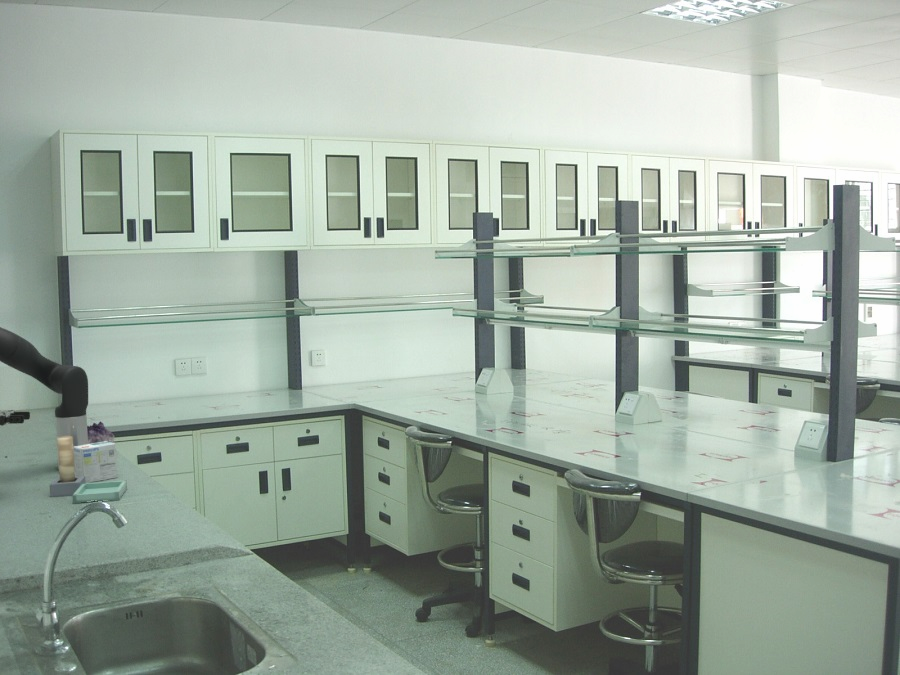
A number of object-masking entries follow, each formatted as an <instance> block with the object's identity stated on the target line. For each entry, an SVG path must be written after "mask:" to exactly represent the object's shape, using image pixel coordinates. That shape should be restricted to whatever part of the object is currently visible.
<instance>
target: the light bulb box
mask: <svg viewBox="0 0 900 675" xmlns="http://www.w3.org/2000/svg"><path fill="white" fill-rule="evenodd" d="M73 449H74V462H75V477H81V476H85V481H86V483H96V482H102V481H107V480H111V479H116V478H118V468H117V467H118V466H117V452H116V451H117V448H116V443H115V442H114V443H112V442H108V441H104V442H99V443H92V444H86V445H81V446H74V447H73Z"/></svg>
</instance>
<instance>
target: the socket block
mask: <svg viewBox="0 0 900 675" xmlns="http://www.w3.org/2000/svg"><path fill="white" fill-rule="evenodd" d="M83 483H86V481H85V476H81V477H76V476H75V482H62V483H60V477H57V478H54V480H53V481H52V482H50V483H49V496H50V497H51V498H52V497H53V496H55V497H67V496H68V495H69V496H72V495H73V494H74V493H75V492H76V491H77V489H78V488H79V487H80V486H81V485H82V484H83Z"/></svg>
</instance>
